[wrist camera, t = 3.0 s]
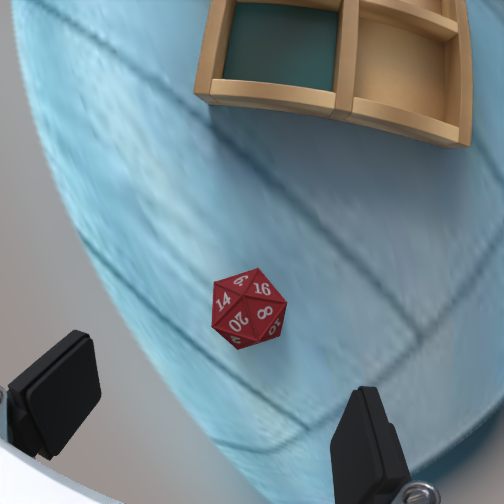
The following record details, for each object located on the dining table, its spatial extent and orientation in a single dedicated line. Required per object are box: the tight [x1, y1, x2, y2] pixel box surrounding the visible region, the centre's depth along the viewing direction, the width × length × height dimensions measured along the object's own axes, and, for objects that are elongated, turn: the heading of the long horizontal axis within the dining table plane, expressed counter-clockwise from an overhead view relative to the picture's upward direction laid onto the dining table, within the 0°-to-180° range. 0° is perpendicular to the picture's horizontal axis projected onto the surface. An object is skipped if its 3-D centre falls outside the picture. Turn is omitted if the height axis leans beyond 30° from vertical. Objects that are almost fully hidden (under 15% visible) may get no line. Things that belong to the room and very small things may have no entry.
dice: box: [211, 268, 287, 350], centre depth 16 cm, size 4×4×4 cm
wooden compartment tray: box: [194, 0, 473, 149], centre depth 11 cm, size 14×14×3 cm
